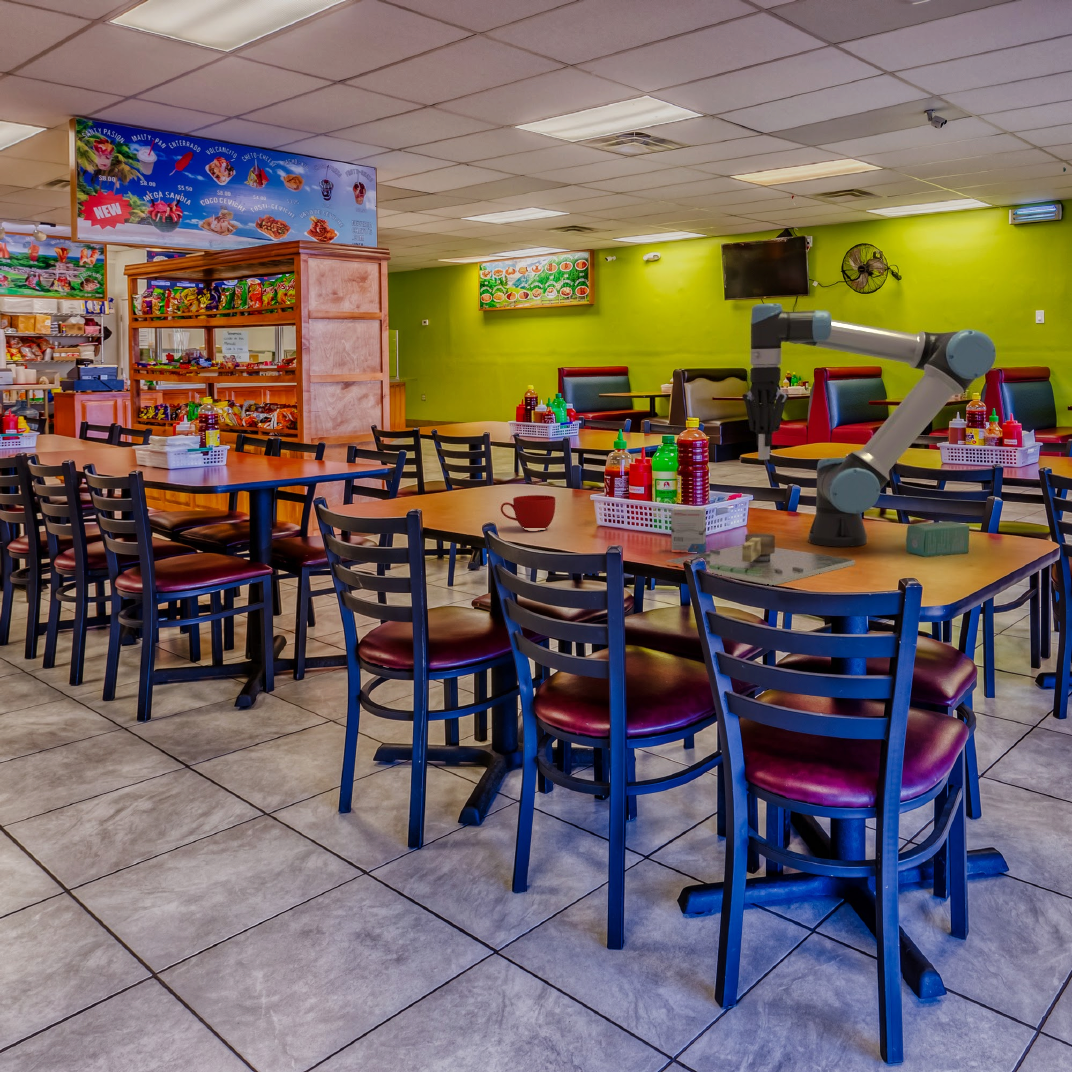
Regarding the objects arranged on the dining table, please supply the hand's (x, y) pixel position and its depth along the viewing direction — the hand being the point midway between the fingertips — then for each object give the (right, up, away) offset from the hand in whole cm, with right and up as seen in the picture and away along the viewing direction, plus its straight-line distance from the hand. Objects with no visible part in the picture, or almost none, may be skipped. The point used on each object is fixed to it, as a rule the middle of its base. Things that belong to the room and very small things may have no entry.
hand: (763, 459), depth 244 cm
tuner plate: (-4, -27, -12) cm, 30 cm away
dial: (-7, -25, -18) cm, 31 cm away
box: (+44, -24, -2) cm, 50 cm away
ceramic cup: (-61, -18, +47) cm, 79 cm away
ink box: (-18, -24, +7) cm, 31 cm away
